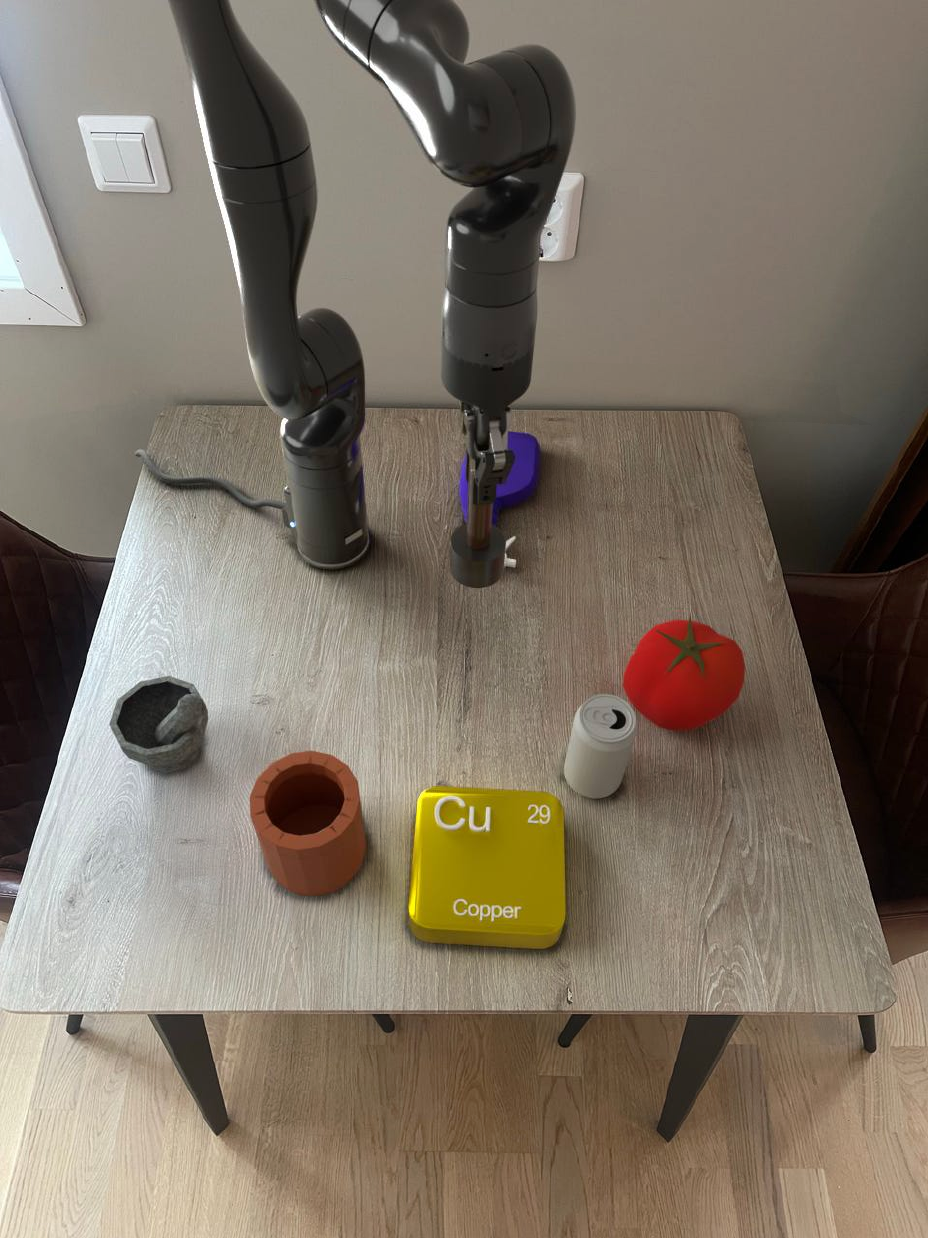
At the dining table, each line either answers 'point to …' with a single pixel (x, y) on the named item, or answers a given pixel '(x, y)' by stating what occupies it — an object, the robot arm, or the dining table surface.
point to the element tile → (488, 868)
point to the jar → (309, 822)
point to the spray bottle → (511, 479)
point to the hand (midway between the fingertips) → (480, 490)
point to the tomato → (684, 675)
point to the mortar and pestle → (160, 723)
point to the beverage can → (600, 745)
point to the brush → (477, 546)
